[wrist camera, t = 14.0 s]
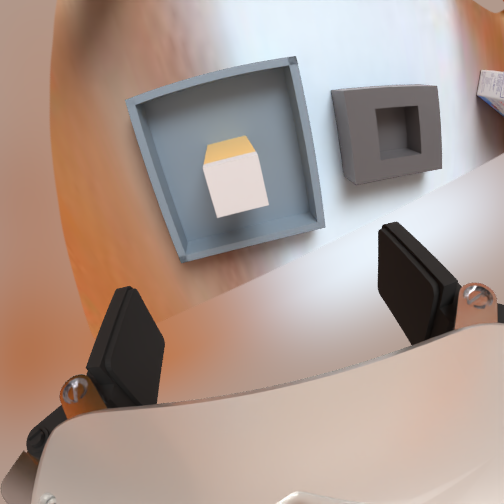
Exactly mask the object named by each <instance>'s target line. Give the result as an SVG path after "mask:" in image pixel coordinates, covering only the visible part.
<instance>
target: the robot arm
mask: <svg viewBox="0 0 504 504" xmlns="http://www.w3.org/2000/svg"><path fill="white" fill-rule="evenodd" d="M378 290H379V294H380V295H381V297H382V298H383V300H384V301H385V303H386V304H387V306H388V308H389V309H390V311H391V312H392V314H393V315H394V317H395V319H396V320H397V322H398V323H399V325H400V327H401V328H402V330H403V331H404V333H405V335H406V336H407V338H408V339H409V341H410V343H411V345H412V346H409V347H406V348H403V349H401V350H398V351H395V352H392V353H389V354H387V355H383V356H381V357H378V358H374V359H371V360H368V361H365V362H362V363H359V364H356V365H352V366H349V367H346V368H342V369H339V370H335V371H332V372H328V373H324V374H320V375H317V376H313V377H310V378H305V379H301V380H297V381H293V382H289V383H284V384H280V385H276V386H271V387H266V388H261V389H256V390H251V391H246V392H240V393H235V394H229V395H223V396H217V397H211V398H204V399H197V400H189V401H181V402H172V403H163V404H157V397H158V389H159V382H160V374H161V367H162V360H163V353H164V347H165V342H164V338H163V336H162V334H161V333H160V331H159V329H158V328H157V325H156V324H155V322H154V320H153V318H152V317H151V315H150V313H149V311H148V309H147V307H146V306H145V304H144V302H143V300H142V298H141V296H140V294H139V292H138V291H137V289H133V288H132V287H131V286H127V287H123V288H119V289H116V291H115V293H114V295H113V298H112V300H111V303H110V305H109V307H108V310H107V312H106V315H105V317H104V320H103V322H102V325H101V328H100V330H99V333H98V335H97V338H96V341H95V344H94V346H93V349H92V352H91V355H90V357H89V360H88V363H87V366H86V369H87V370H88V372H87V375H83V374H80V375H75V376H73V377H71V378H70V379H69V380H67V381H66V382H65V384H64V385H63V386H62V388H61V391H60V395H59V398H60V402H61V406H60V407H58V408H57V409H56V410H55V411H53V412H52V413H51V414H50V415H49V416H47V417H46V418H45V419H44V420H43V421H41V422H40V423H39V424H38V425H37V426H36V427H34V428H33V429H32V430H31V432H30V433H29V435H28V438H27V450H28V451H27V452H25V451H23V452H22V453H21V455H20V456H19V458H18V459H17V460H16V462H15V463H14V465H13V466H12V468H11V469H10V471H9V472H8V474H7V475H6V476H5V478H4V479H3V481H2V484H1V494H2V496H3V498H4V500H5V501H6V503H7V504H504V305H502V304H498V303H497V297H496V295H495V293H494V292H493V290H492V289H491V288H489V287H488V286H486V285H484V284H481V283H468V284H466V285H464V286H463V287H461V285H459V283H458V280H456V278H455V277H454V276H453V275H452V274H451V273H450V272H449V271H448V270H447V269H446V268H445V267H444V266H443V265H442V264H441V263H440V262H439V261H438V260H437V259H436V258H435V257H434V256H433V255H432V254H431V253H430V252H429V251H428V250H427V249H426V248H425V247H424V246H423V245H422V244H421V243H420V242H419V241H418V240H417V239H415V238H414V237H413V236H412V235H411V234H410V233H409V232H408V231H407V230H406V229H405V228H404V227H403V226H402V225H400V224H399V223H398V222H393V223H388V224H384V225H383V226H382V229H380V230H379V232H378Z"/></svg>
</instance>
